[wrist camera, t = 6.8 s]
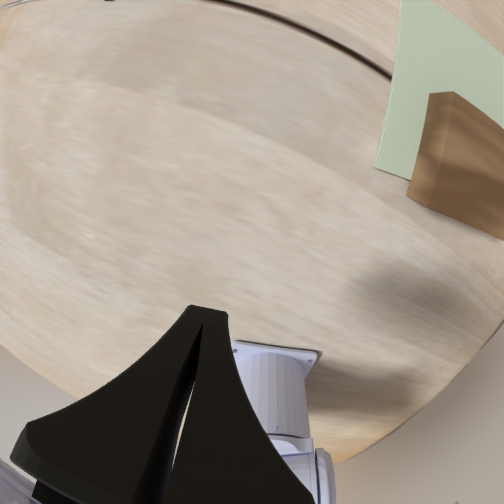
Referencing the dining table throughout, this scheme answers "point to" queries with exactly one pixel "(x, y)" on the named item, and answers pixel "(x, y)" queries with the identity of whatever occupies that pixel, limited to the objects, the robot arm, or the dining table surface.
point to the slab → (461, 164)
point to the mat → (434, 78)
